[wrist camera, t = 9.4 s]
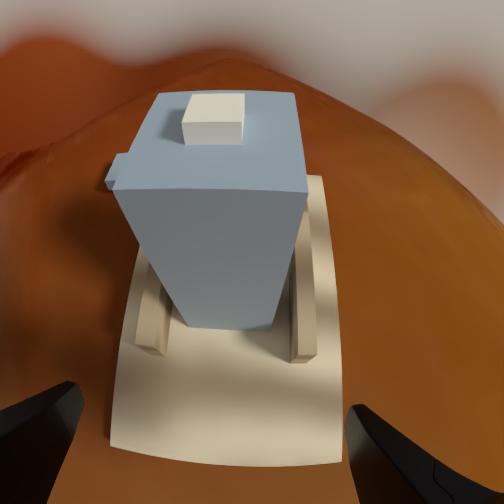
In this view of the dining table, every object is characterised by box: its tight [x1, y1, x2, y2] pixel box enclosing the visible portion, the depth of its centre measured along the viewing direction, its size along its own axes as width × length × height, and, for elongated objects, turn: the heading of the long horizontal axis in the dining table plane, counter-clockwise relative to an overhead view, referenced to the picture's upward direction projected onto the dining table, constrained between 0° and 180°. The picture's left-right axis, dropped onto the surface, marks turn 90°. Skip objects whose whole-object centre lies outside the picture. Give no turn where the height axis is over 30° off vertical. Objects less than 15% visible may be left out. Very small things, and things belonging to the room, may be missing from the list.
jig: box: [110, 175, 342, 467], centre depth 18 cm, size 22×14×4 cm, turn 178°
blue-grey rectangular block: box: [112, 90, 309, 331], centre depth 13 cm, size 5×5×13 cm
